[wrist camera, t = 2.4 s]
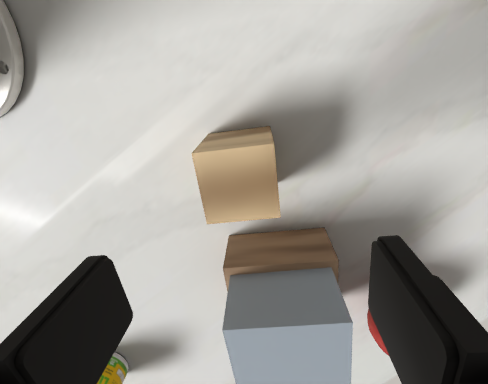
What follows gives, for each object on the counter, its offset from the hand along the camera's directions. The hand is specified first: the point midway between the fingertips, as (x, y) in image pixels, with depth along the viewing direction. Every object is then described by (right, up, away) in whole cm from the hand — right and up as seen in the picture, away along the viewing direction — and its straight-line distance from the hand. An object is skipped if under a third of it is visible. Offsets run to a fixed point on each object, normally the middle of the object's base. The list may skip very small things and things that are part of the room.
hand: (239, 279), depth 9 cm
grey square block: (+4, -7, +13) cm, 15 cm away
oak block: (0, +6, +13) cm, 14 cm away
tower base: (+4, -5, +17) cm, 18 cm away
